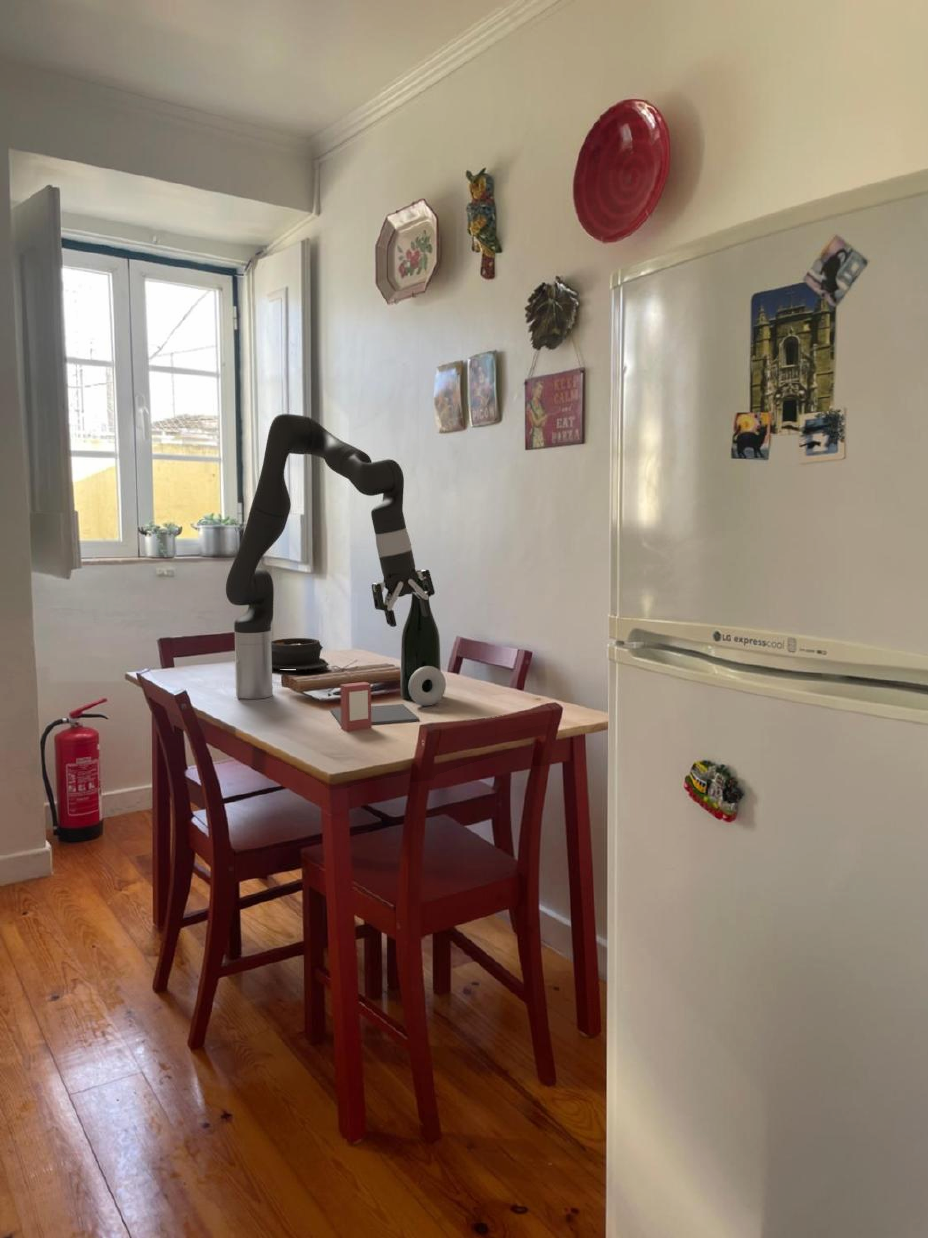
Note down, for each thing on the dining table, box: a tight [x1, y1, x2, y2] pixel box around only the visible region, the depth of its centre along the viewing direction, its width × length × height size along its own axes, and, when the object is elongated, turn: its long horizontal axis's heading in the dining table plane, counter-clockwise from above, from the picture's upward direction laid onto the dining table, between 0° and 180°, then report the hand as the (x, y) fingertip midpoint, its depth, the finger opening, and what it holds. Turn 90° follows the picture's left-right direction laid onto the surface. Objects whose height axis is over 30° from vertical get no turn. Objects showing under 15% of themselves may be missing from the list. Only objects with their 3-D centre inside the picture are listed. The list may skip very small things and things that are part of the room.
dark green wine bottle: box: [400, 569, 442, 701], centre depth 230 cm, size 10×10×33 cm
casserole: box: [271, 637, 330, 671], centre depth 274 cm, size 25×19×8 cm
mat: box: [330, 703, 420, 726], centre depth 211 cm, size 18×16×1 cm
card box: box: [339, 681, 372, 732], centre depth 199 cm, size 6×3×10 cm, turn 121°
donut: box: [408, 666, 447, 707], centre depth 222 cm, size 10×4×10 cm, turn 118°
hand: (409, 621), depth 202 cm, fingers open, 8 cm apart
